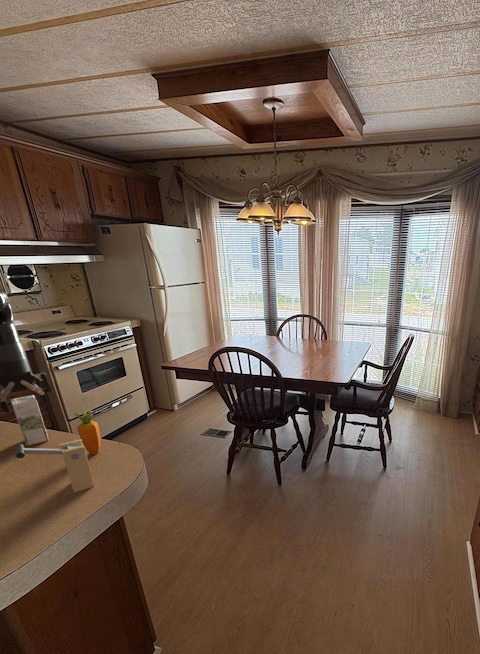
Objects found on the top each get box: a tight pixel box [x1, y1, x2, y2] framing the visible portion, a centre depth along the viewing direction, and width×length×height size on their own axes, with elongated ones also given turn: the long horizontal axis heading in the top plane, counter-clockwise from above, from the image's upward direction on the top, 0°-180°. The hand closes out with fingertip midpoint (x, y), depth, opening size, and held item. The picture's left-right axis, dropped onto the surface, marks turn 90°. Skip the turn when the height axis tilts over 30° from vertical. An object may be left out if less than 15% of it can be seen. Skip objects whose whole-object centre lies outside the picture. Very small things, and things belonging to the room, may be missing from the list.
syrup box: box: [10, 394, 50, 447], centre depth 106 cm, size 6×6×14 cm
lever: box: [14, 443, 79, 459], centre depth 81 cm, size 12×5×2 cm, turn 131°
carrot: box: [74, 410, 101, 456], centre depth 99 cm, size 5×5×15 cm
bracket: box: [59, 438, 95, 493], centre depth 86 cm, size 8×7×13 cm
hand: (26, 408), depth 105 cm, fingers open, 8 cm apart
